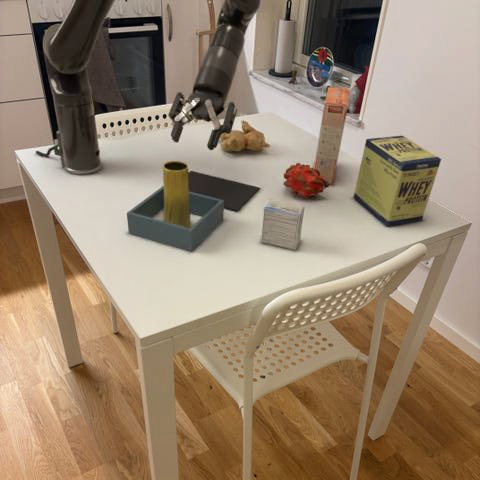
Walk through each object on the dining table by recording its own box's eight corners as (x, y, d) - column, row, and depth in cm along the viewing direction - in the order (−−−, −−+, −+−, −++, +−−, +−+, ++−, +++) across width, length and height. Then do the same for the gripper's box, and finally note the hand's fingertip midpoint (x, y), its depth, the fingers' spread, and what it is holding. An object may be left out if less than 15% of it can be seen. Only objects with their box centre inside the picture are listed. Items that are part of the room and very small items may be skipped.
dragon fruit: (278, 193, 135) (321, 209, 133) (274, 186, 127) (319, 203, 125) (291, 162, 134) (334, 178, 132) (287, 153, 126) (333, 170, 124)
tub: (128, 233, 113) (126, 212, 109) (165, 204, 124) (164, 184, 120) (191, 251, 108) (191, 231, 105) (223, 220, 119) (224, 200, 116)
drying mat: (164, 192, 128) (164, 190, 128) (191, 172, 138) (191, 170, 138) (237, 211, 123) (237, 210, 122) (259, 189, 133) (259, 187, 132)
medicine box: (300, 241, 114) (305, 205, 108) (295, 251, 110) (300, 214, 105) (266, 233, 115) (269, 198, 110) (260, 243, 112) (263, 207, 107)
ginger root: (271, 156, 146) (266, 128, 141) (216, 166, 148) (210, 139, 143) (269, 138, 158) (265, 111, 153) (219, 147, 160) (213, 121, 155)
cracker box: (333, 186, 136) (348, 104, 123) (311, 182, 137) (323, 101, 124) (336, 165, 147) (350, 88, 134) (315, 162, 148) (327, 85, 134)
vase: (164, 219, 118) (161, 159, 109) (190, 219, 118) (190, 160, 109) (163, 233, 113) (160, 171, 104) (191, 233, 114) (190, 172, 105)
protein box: (387, 227, 121) (404, 164, 111) (352, 198, 131) (364, 137, 121) (423, 221, 124) (443, 159, 114) (386, 193, 135) (401, 133, 125)
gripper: (250, 90, 113) (226, 159, 112) (192, 79, 117) (169, 146, 116) (242, 69, 106) (216, 143, 105) (181, 59, 110) (156, 129, 109)
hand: (191, 144), depth 110 cm, fingers open, 8 cm apart
